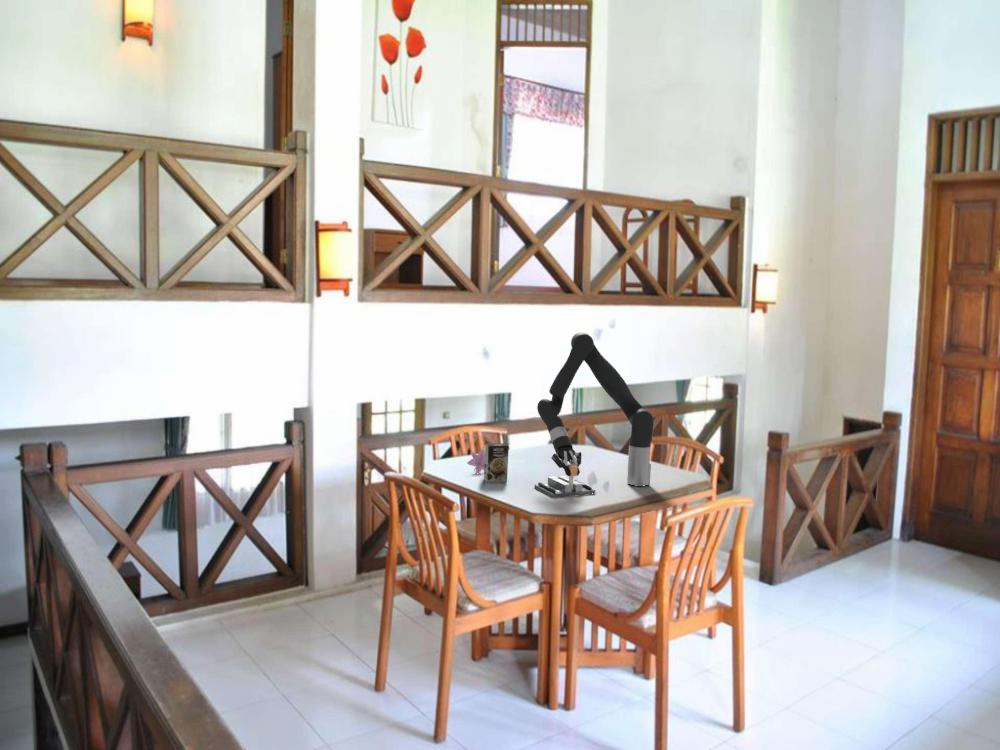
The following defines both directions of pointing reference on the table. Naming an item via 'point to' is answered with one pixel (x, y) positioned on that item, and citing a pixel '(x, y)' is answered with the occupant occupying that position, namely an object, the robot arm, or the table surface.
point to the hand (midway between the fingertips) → (573, 474)
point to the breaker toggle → (572, 473)
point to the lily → (478, 461)
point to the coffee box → (496, 462)
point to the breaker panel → (559, 494)
